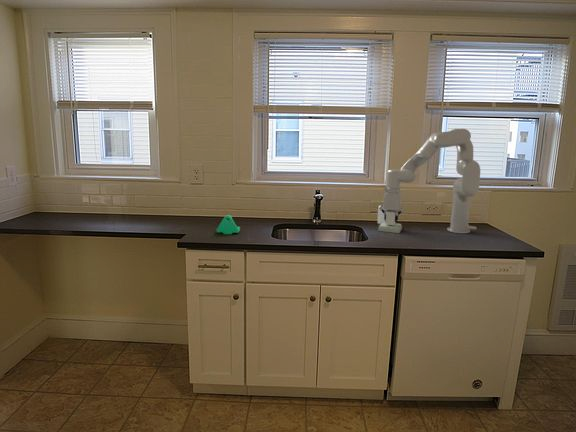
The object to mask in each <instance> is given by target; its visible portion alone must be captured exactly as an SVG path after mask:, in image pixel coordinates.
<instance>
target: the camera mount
mask: <svg viewBox="0 0 576 432" xmlns="http://www.w3.org/2000/svg"><path fill="white" fill-rule="evenodd" d="M240 230H241V227H240V226H237V225H236V223H235V221H234V219H233V217H232V215H230V214H227V215H225V216H224V217H223V219H222V220H221V222H220V223H219V226H218V227H217V228H216V233H223V235H233V233H239V232H240Z"/></svg>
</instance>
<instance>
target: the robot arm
mask: <svg viewBox="0 0 576 432" xmlns="http://www.w3.org/2000/svg"><path fill="white" fill-rule="evenodd" d="M471 134H472V133H471V132H470V131H469V129H467V128H454V129H451V130H449V131H438V132H434V133H431V134H430V136H429V137H428V138H427V139H426V141H425V142H424V143H423V144H422V145H421V147H420V148H419V149H418V150H417V152H415V153H414V154H413V155H412V156H411V157H410V158H409V159H408V160H406V162H405V163H404V164H403V165H402V167H400V169H388V170H387V174H386V187H385V188H383V191H384V194H383V200H382V204H381V206H380V205H379V206H380V207H379V206H378V207H379V209H380V210H381V211H382V212H383V213H384V220H385V221H386V212H387V210H390V211H395V212H396V216H395V222H396V223H397V222H398V220H399V215H400V214H401V213H403V212H405V208H404V207H403V205H402V194H401V193H400V191H401V190H400V189H401V188H400V187H401V183H404V184H411V183H413V182H414V181H415V180H416V174H415V172H416V170H417V169H419V168H420V167H421V166H423V165H425V164H427V163H428V162H430V161H431V160H432V158H433V157H434V156H435V154H437V153H438V151H439V150H440V149H441V148H442V149H443V148H452V147H456V154H457V155H456V156H457V157H456V172H457V174H459V175H460V176H462V177H459V178H457V179H456V180H455V181H454V183H453V185H452V208H451V216H450V225H449V227H447V229H446V230H447V231H448V232H451V233H455V234H470V233H471V230H473V231H477V226H474V225H473V226H472V225H469V220H470V208H471V197H473V196H475V195H476V194H477V193H478V192H479V190H480V189H479V188H480V181H481V166H480V164H479V163H478V161H476V160H474V145H473V142H472V140H471V137H472V135H471ZM382 207H383V209H384V210H385V211H384V210H383V209H382Z"/></svg>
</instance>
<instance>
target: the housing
mask: <svg viewBox="0 0 576 432" xmlns="http://www.w3.org/2000/svg"><path fill="white" fill-rule="evenodd" d="M395 216H396V212H395V211H390V210H387V212H386V225H395V224H397V222H395Z"/></svg>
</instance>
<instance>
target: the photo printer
mask: <svg viewBox="0 0 576 432" xmlns="http://www.w3.org/2000/svg"><path fill="white" fill-rule="evenodd" d="M381 205H382V204H381ZM381 205H378V208H377V224H378V225H381V223H382V222H384V223H386V221H385V220H384V213H383V212H382V211H381V210H380V209H379V207H380V206H381ZM382 209H383V207H382ZM383 210H384V209H383ZM384 211H385V210H384Z"/></svg>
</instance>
